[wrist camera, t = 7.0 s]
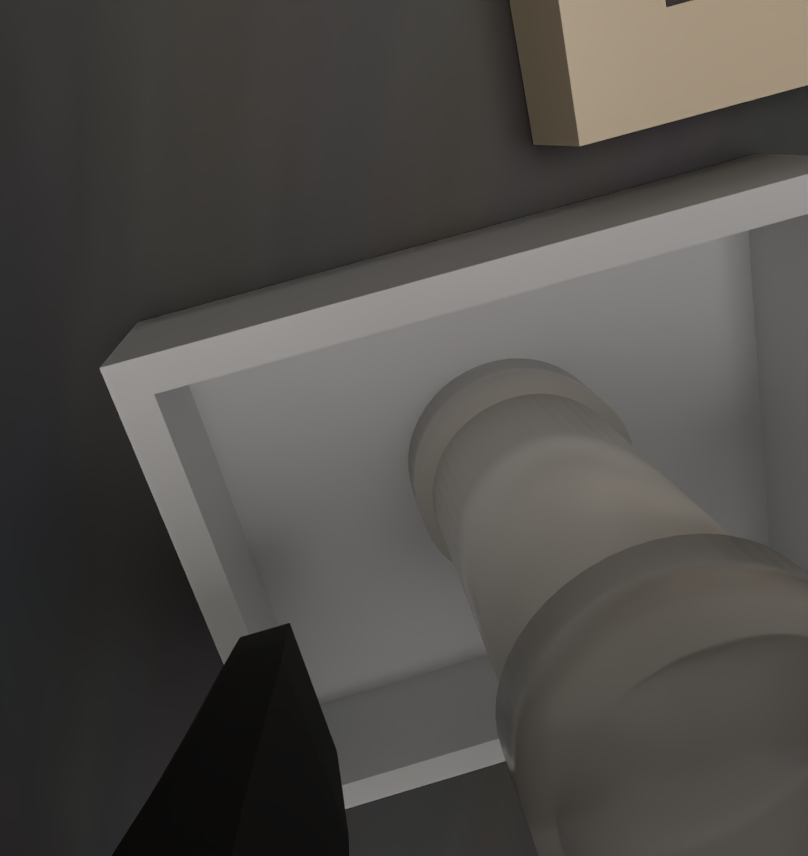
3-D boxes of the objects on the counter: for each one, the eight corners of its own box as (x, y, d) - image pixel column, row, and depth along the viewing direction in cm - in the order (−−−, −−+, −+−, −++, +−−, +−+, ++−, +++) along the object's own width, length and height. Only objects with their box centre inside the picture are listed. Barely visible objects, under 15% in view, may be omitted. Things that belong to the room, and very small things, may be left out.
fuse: (595, 337, 12) (939, 563, 6) (615, 519, 13) (915, 874, 7) (389, 386, 12) (502, 676, 6) (428, 566, 13) (560, 974, 7)
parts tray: (756, 153, 12) (867, 157, 10) (781, 572, 15) (870, 650, 13) (137, 321, 12) (99, 367, 9) (291, 716, 15) (291, 825, 12)
